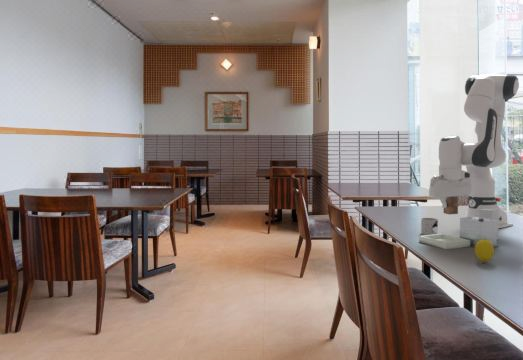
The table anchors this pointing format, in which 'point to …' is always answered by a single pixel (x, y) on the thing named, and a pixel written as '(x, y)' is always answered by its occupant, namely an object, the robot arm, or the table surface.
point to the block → (451, 205)
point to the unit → (478, 230)
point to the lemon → (484, 250)
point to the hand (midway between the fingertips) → (450, 207)
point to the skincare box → (490, 216)
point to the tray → (444, 241)
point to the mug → (429, 226)
